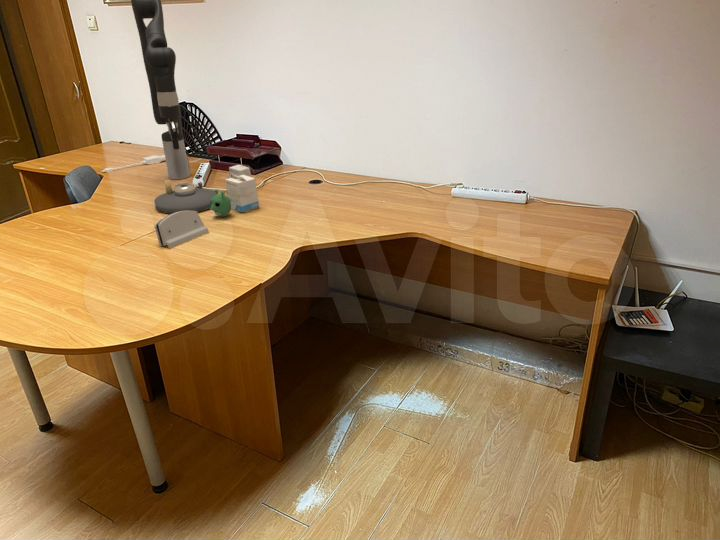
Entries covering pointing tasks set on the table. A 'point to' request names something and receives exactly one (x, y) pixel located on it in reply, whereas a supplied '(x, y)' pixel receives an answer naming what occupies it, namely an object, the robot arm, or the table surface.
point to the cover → (184, 189)
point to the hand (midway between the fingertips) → (176, 148)
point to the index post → (200, 185)
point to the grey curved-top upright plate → (179, 228)
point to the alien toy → (220, 204)
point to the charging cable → (145, 161)
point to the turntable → (183, 200)
